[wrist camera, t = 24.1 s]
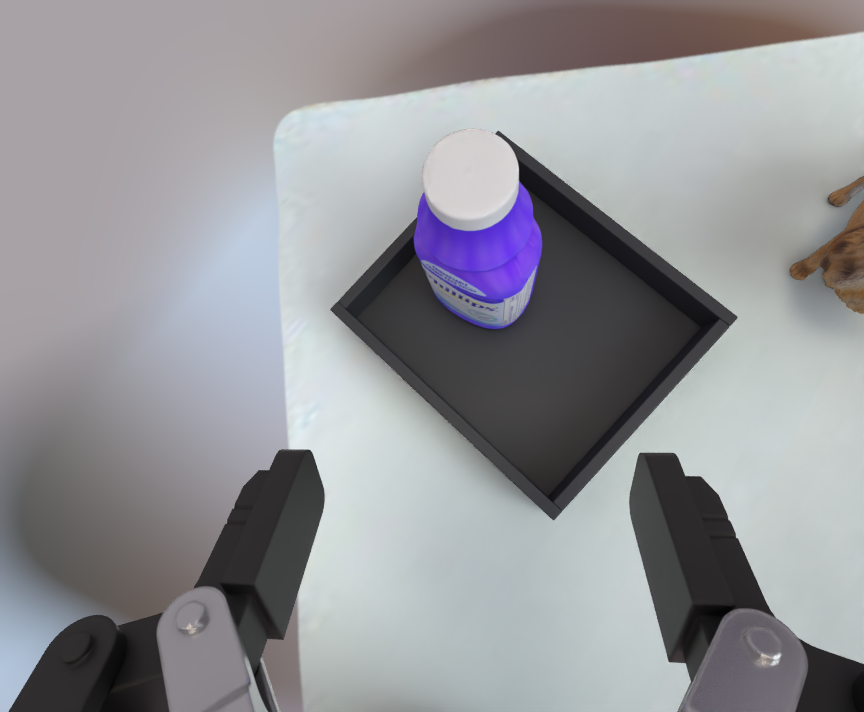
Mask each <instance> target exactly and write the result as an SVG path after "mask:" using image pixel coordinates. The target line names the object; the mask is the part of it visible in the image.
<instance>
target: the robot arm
mask: <svg viewBox="0 0 864 712" xmlns="http://www.w3.org/2000/svg"><path fill="white" fill-rule="evenodd" d="M324 499H325V495H324V488H323V484H322V481H321V478H320V475H319V472H318V469H317V466H316V462H315V459H314V456H313V454H312V452H311V451H310V450H279V451H278V453H277V454H276V456H275V459H274V461H273V463H272V465H271V467H270V470H259V471H258V472H257V473H256V474H255V475H254V476H253V477H252V478H251V479H250V480H249V481H248V482H247V483H246V484H245V485H244V486H243V488H242V490H241V493H240V495H239V497H238V499H237V501H236V503H235V508H234V509H232V511H231V513H230V515H229V518H228V520H227V524H225V526H224V528H223V530H222V532H221V534H220V536H219V538H218V540H217V542H216V545H215V547H214V549H213V551H212V553H211V555H210V557H209V559H208V561H207V563H206V566H205V567H204V570H203V572H202V574H201V576H200V578H199V580H198V582H197V583H196V585H195V586H194V588H193V589H191V590H189V591H187V592H185V593H184V594H182V595H180V596H179V597H178V598H176V599H175V600H174V601H173V602H172V603H171V604H170V605H169V606H168V607H167V609H166V610H165V611H164V612H163V613H160V614H157V615H154V616H151V617H147V618H143V619H140V620H137V621H133V622H129V623H126V624H122V625H119V626H117V625H116V624H115V623H114V622H113V621H112V620H111V619H110V618H108V617H106V616H103V615H93V616H88V617H85V618H83V619H80V620H78V621H76V622H74V623H73V624H71V625H70V626H68V627H67V628H65V629H64V630H63V631H62V632H60V633H59V635H58V636H56V637H55V638H54V640H53V641H52V642H51V643H50V645H49V646H48V648H47V649H46V651H45V652H44V654H43V655H42V657H41V659H40V661H39V662H38V664H37V665H36V667H35V669H34V671H33V672H32V674H31V675H30V677H29V679H28V680H27V682H26V684H25V686H24V687H23V689H22V690H21V692H20V694H19V695H18V697H17V699H16V700H15V702H14V704H13V705H12V707H11V709H10V710H9V712H280V709H279V706H278V703H277V700H276V697H275V694H274V692H273V688H272V685H271V682H270V679H269V676H268V673H267V670H266V668H265V664H264V661H263V659H262V653H263V650H264V647H265V644H266V641H267V639H281V640H283V639H284V636H285V633H286V629H287V626H288V623H289V620H290V616H291V613H292V610H293V607H294V604H295V600H296V597H297V594H298V591H299V587H300V584H301V581H302V578H303V574H304V571H305V568H306V565H307V562H308V558H309V555H310V552H311V549H312V545H313V542H314V539H315V536H316V532H317V529H318V526H319V523H320V519H321V516H322V513H323V509H324ZM629 504H630V515H631V520H632V524H633V528H634V531H635V535H636V539H637V543H638V547H639V550H640V554H641V558H642V562H643V566H644V569H645V573H646V577H647V581H648V585H649V588H650V592H651V596H652V600H653V604H654V607H655V611H656V615H657V619H658V622H659V626H660V630H661V634H662V638H663V641H664V645H665V649H666V653H667V657H668V660H669V662H677V663H686V666H687V669H688V673H689V676H690V680H691V683H690V685H689V687H688V689H687V691H686V694H685V696H684V698H683V700H682V702H681V704H680V707H679V709H678V711H677V712H864V664H862V663H859V662H856V661H853V660H850V659H847V658H844V657H841V656H838V655H835V654H832V653H830V652H827V651H824V650H821V649H818V648H816V647H813V646H811V645H809V644H807V643H806V642H804V641H802V640H801V639H799V638H797V637H796V635H795V634H794V633H793V632H792V631H791V630H790V629H789V628H788V627H787V626H786V625H785V624H783V623H782V622H781V621H780V620H778V619H776V617H775V616H774V615H773V613H772V612H771V610H770V609H769V607H768V605H767V603H766V601H765V599H764V596H763V594H762V592H761V590H760V587H759V585H758V583H757V580H756V578H755V576H754V574H753V571H752V569H751V567H750V565H749V562H748V560H747V558H746V556H745V553H744V551H743V549H742V547H741V544H740V542H739V540H738V538H736V533H735V531H734V529H733V526H732V524H731V522H730V521H729V520H728V515H727V513H726V511H725V508H724V506H723V504H722V502H721V499H720V497H719V495H718V494H717V493H716V492H715V491H714V490H713V489H712V488H711V487H710V486H709V485H708V484H707V483H706V481H705V480H704V479H703V478H702V477H700V476H685V474H684V472H683V469H682V467H681V464H680V462H679V459H678V457H677V456H676V454H674V453H640V454H639V456H638V459H637V464H636V468H635V473H634V477H633V482H632V487H631V491H630V500H629Z"/></svg>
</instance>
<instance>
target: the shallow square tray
mask: <svg viewBox="0 0 864 712" xmlns="http://www.w3.org/2000/svg"><path fill="white" fill-rule="evenodd" d="M496 135H498V136H499V137H501V138H502V139H503V140H504V141H506V142H507V143H508V144H509V146H510V147H511V148H512V150H513V152H514V153H515V156H516V158H517V161H518V166H519V181H520V182H521V184H522V185H523V186H524V188H525V189H526V190H527V191H528V193H529V195H530V198H531V201H532V205H533V218H534V219H535V221H536V223H537V224H538V226H539V229H540V231H541V236H542V252H541V258H540V262H539V266H538V270H537V275H536V279H535V284H534V288H533V292H532V294H531V296H530V301H529V303H528V305H527V306H526V308H525V310H524V312H523V313H522V314H521V315H520V316H519V317H518V318H517V320H516V321H515V322H513V323H512V324H511V325H509V326H507V327H505V328H501V329H489V328H484V327H480V326H477V325H475V324H472V323H470V322H468V321H466V320H464V319H462V318H460V317H458V316H457V315H455V314H454V313H452V312H451V311H450V310H448V309H447V308H446V307H445V306H444V305H443V304H442V303H441V302H440V301H439V300H438V299H437V297H436V296H435V294H434V292H433V289H432V287H431V284H430V282H429V280H428V278H427V275H426V273H425V271H424V269H423V267H422V264H421V262H420V260H419V258H418V256H417V254H416V251H415V247H414V235H415V230H416V226H417V218H416V219H415V220H414V221H413V222H412V223H411V224H410V225H409V226H408V227H407V228H406V229H405V231H404V232H403V233H402V234H401V235H400V236H399V237H398V238H397V239H396V240H395V241H394V242H393V243H392V244H391V245H390V246H389V248H388V249H387V250H386V251H385V252H384V253H383V254H382V255H381V256H380V257H379V258H378V259H377V260H376V261H375V262H374V264H373V265H372V266H371V267H370V268H369V269H368V270H367V271H366V272H365V273H364V274H363V275H362V276H361V277H360V278H359V280H358V281H357V282H356V283H355V284H354V285H353V286H352V287H351V288H350V289H349V290H348V291H347V292H346V293H345V294H344V296H343V297H342V298H341V299H340V300H339V301H338V302H337V303H336V304H335V305H334V306H333V307H332V308H331V309H330V310H331V311H332V312H333V313H334V314H335V315H336V316H337V317H338V318H339V319H340V320H341V321H343V322H344V323H345V324H346V325H347V326H348V327H349V328H350V329H351V330H352V331H353V332H354V333H355V334H356V335H357V336H358V337H359V338H361V339H362V340H363V341H364V342H365V343H366V344H367V345H368V346H369V347H370V348H371V349H372V350H373V351H374V352H375V353H376V354H377V355H379V356H380V357H381V358H382V359H383V360H384V361H385V362H386V363H387V364H388V365H389V366H390V367H391V368H392V369H393V370H394V371H396V372H397V373H398V374H399V375H400V376H401V377H402V378H403V379H404V380H405V381H406V382H407V383H408V384H409V385H410V386H411V387H412V388H414V389H415V390H416V391H417V392H418V393H419V394H420V395H421V396H422V397H423V398H424V399H425V400H426V401H427V402H428V403H429V404H431V405H432V406H433V407H434V408H435V409H436V410H437V411H438V412H439V413H440V414H441V415H442V416H443V417H444V418H445V419H446V420H447V421H449V422H450V423H451V424H452V425H453V426H454V427H455V428H456V429H457V430H458V431H459V432H460V433H461V434H462V435H463V436H464V437H465V438H467V439H468V440H469V441H470V442H471V443H472V444H473V445H474V446H475V447H476V448H477V449H478V450H479V451H480V452H481V453H482V454H484V455H485V456H486V457H487V458H488V459H489V460H490V461H491V462H492V463H493V464H494V465H495V466H496V467H497V468H498V469H499V470H500V471H502V472H503V473H504V474H505V475H506V476H507V477H508V478H509V479H510V480H511V481H512V482H513V483H514V484H515V485H516V486H517V487H518V488H520V489H521V490H522V491H523V492H524V493H525V494H526V495H527V496H528V497H529V498H530V499H531V500H532V501H533V502H534V503H535V504H537V505H538V506H539V507H540V508H541V509H542V510H543V511H544V512H545V513H546V514H547V515H548V516H549V517H550V518H551V519H552V520H555V519H556V518H557V516H558V515H559V514H560V513H561V512H562V511H561V510H564V509H565V507H566V506H567V505H568V504H569V503H570V502H571V501H572V500H573V499H574V498H575V496H576V495H577V494H578V493H579V492H580V491H581V490H582V489H583V488H584V487H585V485H586V484H587V483H588V482H589V481H590V480H591V479H592V478H593V477H594V476H595V474H596V473H597V472H598V471H599V470H600V469H601V468H602V467H603V466H604V465H605V463H606V462H607V461H608V460H609V459H610V458H611V457H612V456H613V455H614V454H615V452H616V451H617V450H618V449H619V448H620V447H621V446H622V445H623V444H624V442H625V441H626V440H627V439H628V438H629V437H630V436H631V435H632V434H633V433H634V431H635V430H636V429H637V428H638V427H639V426H640V425H641V424H642V423H643V422H644V420H645V419H646V418H647V417H648V416H649V415H650V414H651V413H652V412H653V411H654V409H655V408H656V407H657V406H658V405H659V404H660V403H661V402H662V401H663V400H664V398H665V397H666V396H667V395H668V394H669V393H670V392H671V391H672V390H673V389H674V387H675V386H676V385H677V384H678V383H679V382H680V381H681V380H682V379H683V378H684V376H685V375H686V374H687V373H688V372H689V371H690V370H691V369H692V368H693V366H694V365H695V364H696V363H697V362H698V361H699V360H700V359H701V358H702V357H703V355H704V354H705V353H706V352H707V351H708V350H709V349H710V348H711V347H712V346H713V344H714V343H715V342H716V341H717V340H718V339H719V338H720V337H721V336H722V335H723V333H724V332H725V331H726V330H727V329H728V328H729V326H731V325H732V324H733V322H734V321H735V320H736V319H737V316H736V315H734V314H733V313H732V312H731V311H729V310H728V309H727V308H725V307H724V306H723V305H722V304H720V303H719V302H718V301H716V300H715V299H714V298H713V297H711V296H710V295H709V294H707V293H706V292H705V291H704V290H702V289H701V288H700V287H699V286H697V285H696V284H695V283H693V282H692V281H691V280H690V279H688V278H687V277H686V276H684V275H683V274H682V273H681V272H679V271H678V270H677V269H675V268H674V267H673V266H672V265H670V264H669V263H668V262H666V261H665V260H664V259H663V258H661V257H660V256H659V255H657V254H656V253H655V252H654V251H652V250H651V249H650V248H648V247H647V246H646V245H645V244H643V243H642V242H641V241H639V240H638V239H637V238H636V237H634V236H633V235H632V234H630V233H629V232H628V231H627V230H625V229H624V228H623V227H621V226H620V225H619V224H618V223H616V222H615V221H614V220H612V219H611V218H610V217H609V216H607V215H606V214H605V213H603V212H602V211H601V210H600V209H598V208H597V207H596V206H594V205H593V204H592V203H591V202H589V201H588V200H587V199H585V198H584V197H583V196H582V195H580V194H579V193H578V192H576V191H575V190H574V189H573V188H571V187H570V186H569V185H567V184H566V183H565V182H564V181H562V180H561V179H560V178H558V177H557V176H556V175H555V174H553V173H552V172H551V171H549V170H548V169H547V168H546V167H544V166H543V165H542V164H540V163H539V162H538V161H537V160H535V159H534V158H533V157H531V156H530V155H529V154H528V153H526V152H525V151H524V150H522V149H521V148H520V147H519V146H517V145H516V144H515V143H514V142H512V141H511V140H510V139H508V138H507V137H506V136H505V135H503V134H502V133H501V132H499V131H497V133H496Z"/></svg>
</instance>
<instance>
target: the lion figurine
mask: <svg viewBox="0 0 864 712" xmlns="http://www.w3.org/2000/svg"><path fill="white" fill-rule="evenodd" d="M862 189H864V176H863V177H861V178H859V179H858V180H856V181H855V182H853V183H852V184H850V185H848V186H846V187H844V188H842V189H839V190H837V191H835V192H833V193H832V194H831V195H830V196H829V202H830V203H831V204H833V205H835V206H837V207H840V206H843V205H844V204H846V203H847V202H848V201H849V200H850V199H851V197H852V196H854V195H855V194H856V193H857V192H859V191H860V190H862ZM819 266H820V267H822V268H823V270H824V273H823V275H822V278H823V279H824V280H825V286H826V287H830V288H832V289H834V290H835V293H836V294H837V295H838V297H839V298H840V299H841V301H842V302H845V303H846V306H847V307H848V308H850V309H852V310H853V311H854V312H858V313H860V314H864V200H863V201H862V203H861V204H860V205H859V206H858V208H857V209H856V210H855V212H854V213H853V215H852V216H851V218H850V220H849V222H848V224H847V226H846V229H845V230H844V231H843V232H841V233H840V234H838V235H837V236H836V237H834V238H833V239H832V240H831V241H830V242H828V243H827V244H825V245H824V246H822V247H821V248H820V249H818V250H817V251H816V252H814V253H813V254H812V255H811V256H809V257H808V258H806V259H804V260H802V261H800V262H798V263H796V264H794V265H793V266H792V267H791V268H790V273H791V275H792V277H793V278H795V279H798V280H804V279H805V278H806V277H807V276H808V275H810V274H812V273H814V272H815V270H816V269H817V268H818V267H819Z"/></svg>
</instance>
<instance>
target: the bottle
mask: <svg viewBox="0 0 864 712" xmlns="http://www.w3.org/2000/svg"><path fill="white" fill-rule="evenodd" d="M422 184H423V189H424V193H423V194H422V197H421V199H420V202H419V206H418V214H417V226H416V230H415V235H414V247H415V251H416V254H417V256H418V258H419V260H420V262H421V264H422V267H423V269H424V271H425V273H426V275H427V278H428V280H429V282H430V284H431V287H432V289H433V292H434V294H435V296H436V297H437V299H438V300H439V301H440V302H441V303H442V304H443V305H444V306H445V307H446V308H447V309H448V310H450V311H451V312H452V313H454V314H455V315H457V316H458V317H460V318H462V319H464V320H466V321H468V322H470V323H472V324H475V325H477V326H480V327H484V328H489V329H501V328H505V327H507V326H509V325H511V324H512V323H513V322H515V321H516V320H517V318H518V317H519V316H520V315H521V314H522V313H523V312H524V310H525V308H526V306H527V305H528V303H529V301H530V296H531V294H532V292H533V288H534V284H535V279H536V275H537V270H538V266H539V262H540V258H541V252H542V236H541V231H540V229H539V226H538V224H537V223H536V221H535V219H534V218H533V205H532V201H531V198H530V195H529V193H528V191H527V190H526V189H525V188H524V186H523V185H522V184H521V182H520V181H519V166H518V161H517V158H516V156H515V153H514V152H513V150H512V148H511V147H510V146H509V144H508V143H507V142H506V141H504V140H503V139H502V138H501V137H499V136H498V135H496V134H494V133H492V132H489V131H485V130H481V129H465V130H460V131H457V132H453V133H452V134H449V135H447V136H446V137H444V138H443V139H441V140H440V141H439V142H438V143H436V144H435V145H434V147H433V148H432V149H431V150H430V152H429V154H428V155H427V157H426V160H425V162H424V165H423V170H422Z"/></svg>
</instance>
